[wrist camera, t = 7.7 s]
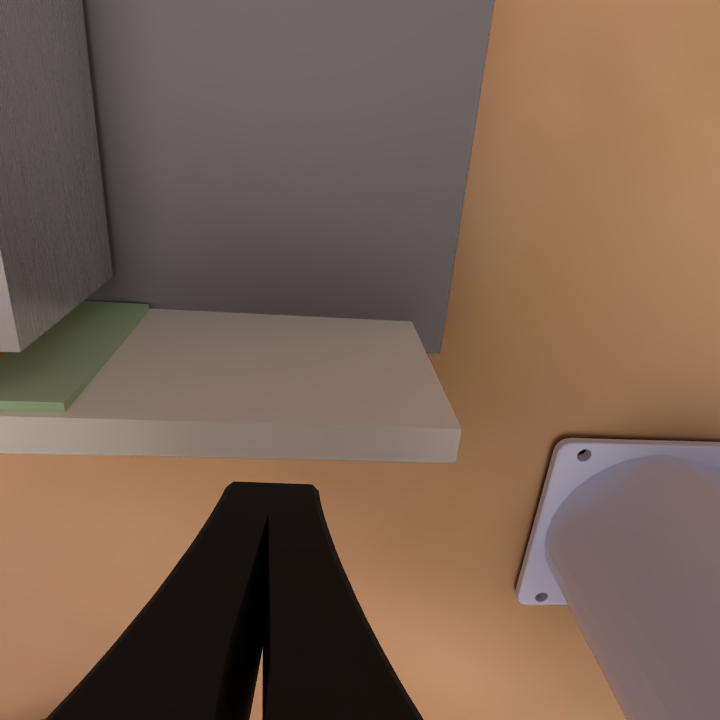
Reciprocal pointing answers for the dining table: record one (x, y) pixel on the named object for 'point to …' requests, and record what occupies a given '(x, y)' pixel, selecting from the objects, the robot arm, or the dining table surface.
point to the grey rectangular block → (47, 170)
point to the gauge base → (265, 234)
